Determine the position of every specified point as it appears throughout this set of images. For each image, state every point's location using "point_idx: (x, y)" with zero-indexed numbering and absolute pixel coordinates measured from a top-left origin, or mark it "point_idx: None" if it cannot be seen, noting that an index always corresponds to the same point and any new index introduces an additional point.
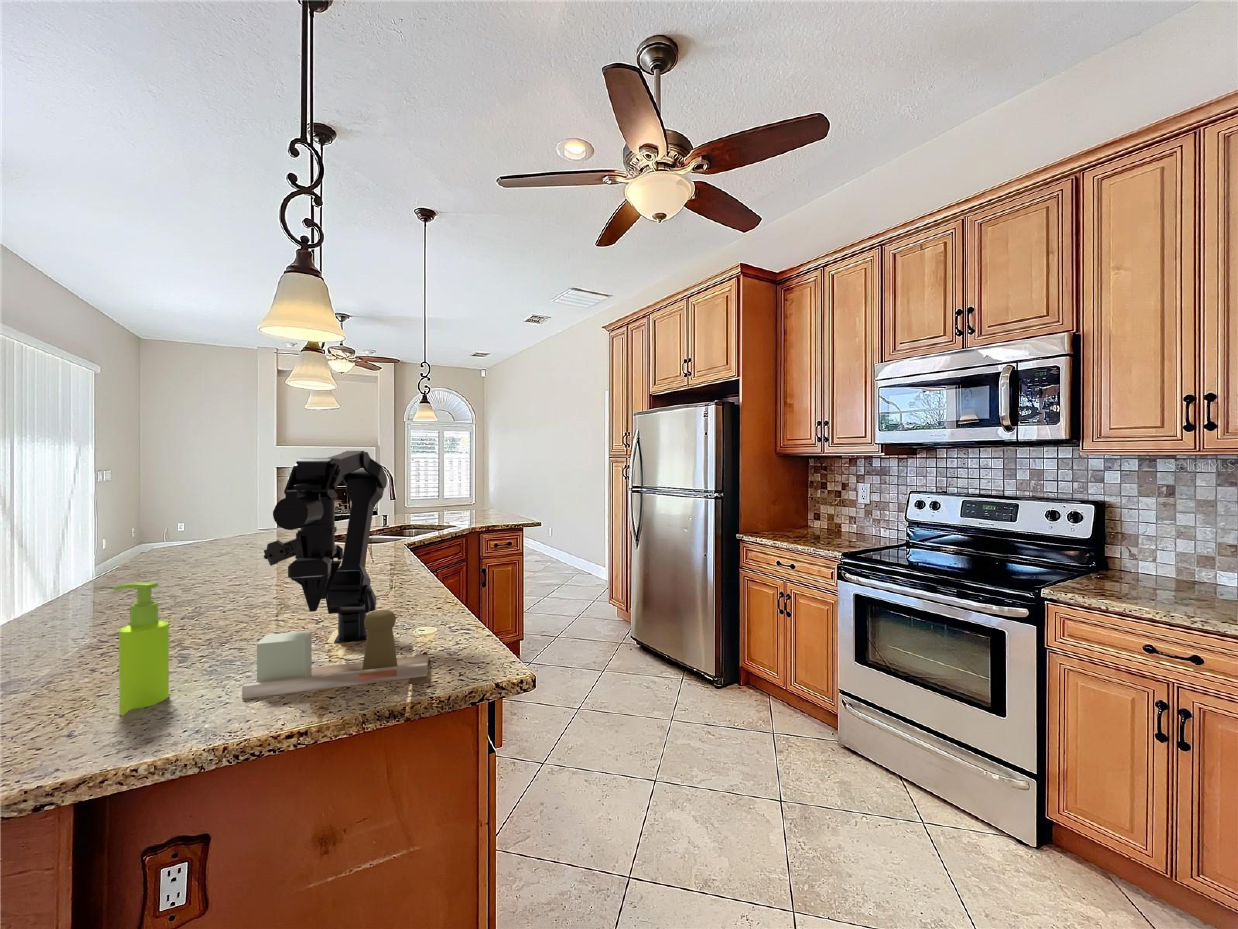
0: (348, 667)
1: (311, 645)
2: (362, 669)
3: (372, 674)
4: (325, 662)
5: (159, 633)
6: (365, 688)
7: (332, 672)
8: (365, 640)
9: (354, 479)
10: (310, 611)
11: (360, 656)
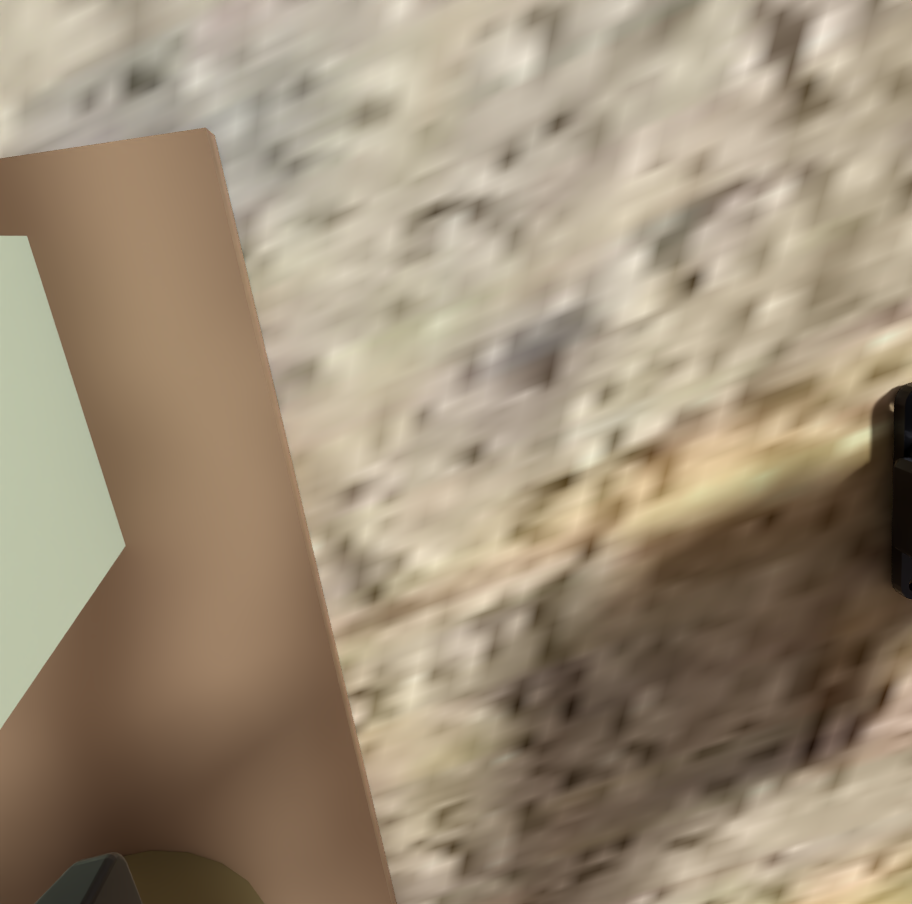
0: (266, 728)
1: (32, 675)
2: None
3: None
4: (526, 466)
5: None
6: None
7: (174, 665)
8: (896, 589)
9: None
10: (81, 867)
11: (598, 653)
